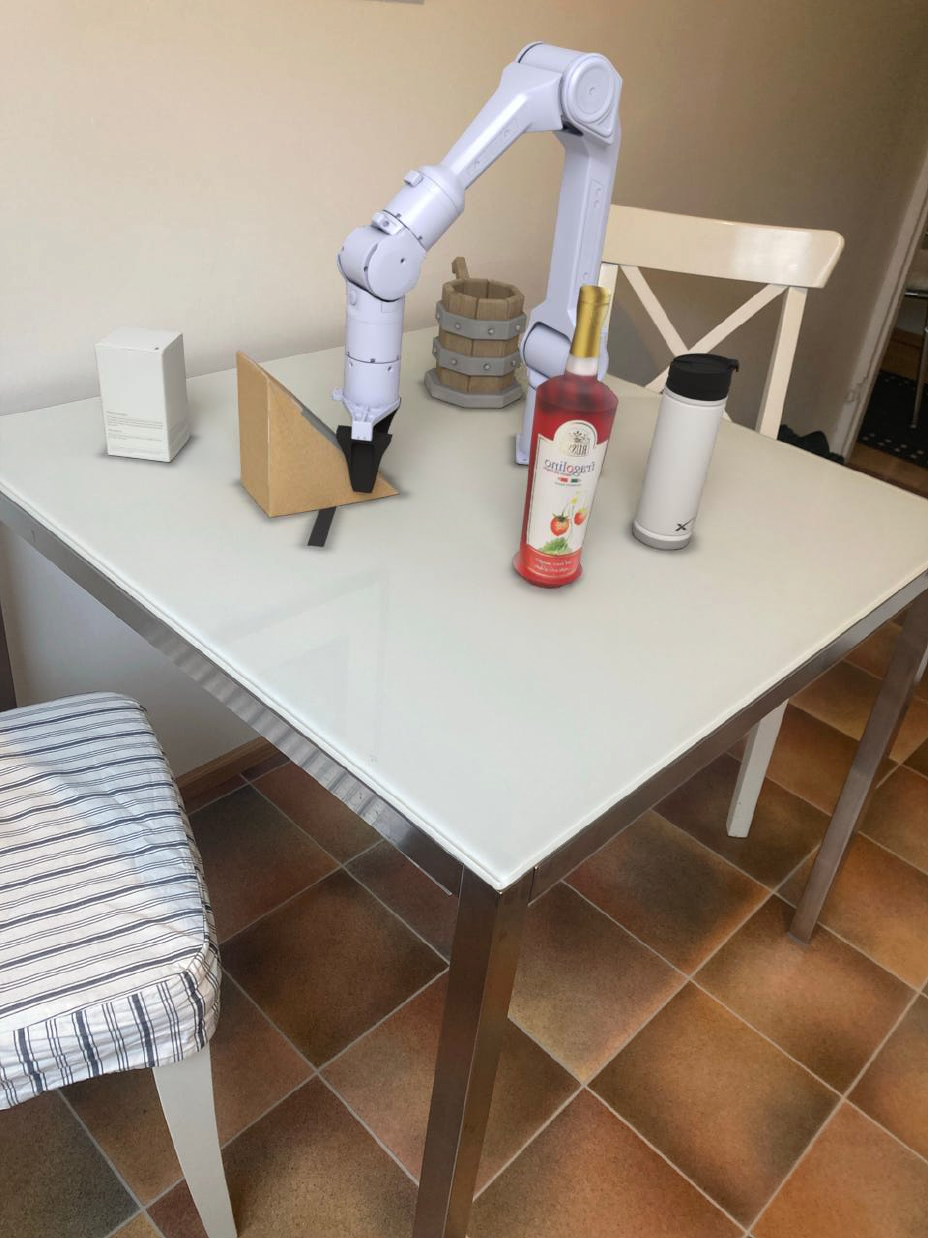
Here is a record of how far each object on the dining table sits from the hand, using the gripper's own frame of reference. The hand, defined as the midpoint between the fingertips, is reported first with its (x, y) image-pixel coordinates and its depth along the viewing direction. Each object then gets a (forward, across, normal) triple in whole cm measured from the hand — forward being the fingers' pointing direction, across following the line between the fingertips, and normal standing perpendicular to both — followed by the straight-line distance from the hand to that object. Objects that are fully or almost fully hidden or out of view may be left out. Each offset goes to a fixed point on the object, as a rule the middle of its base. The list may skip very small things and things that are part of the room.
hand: (367, 475), depth 108 cm
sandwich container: (+2, +1, -5) cm, 5 cm away
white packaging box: (+2, -5, -25) cm, 26 cm away
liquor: (+2, +14, +20) cm, 24 cm away
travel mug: (+2, +3, +33) cm, 33 cm away
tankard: (+2, -37, +10) cm, 38 cm away
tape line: (+2, +1, -3) cm, 4 cm away
